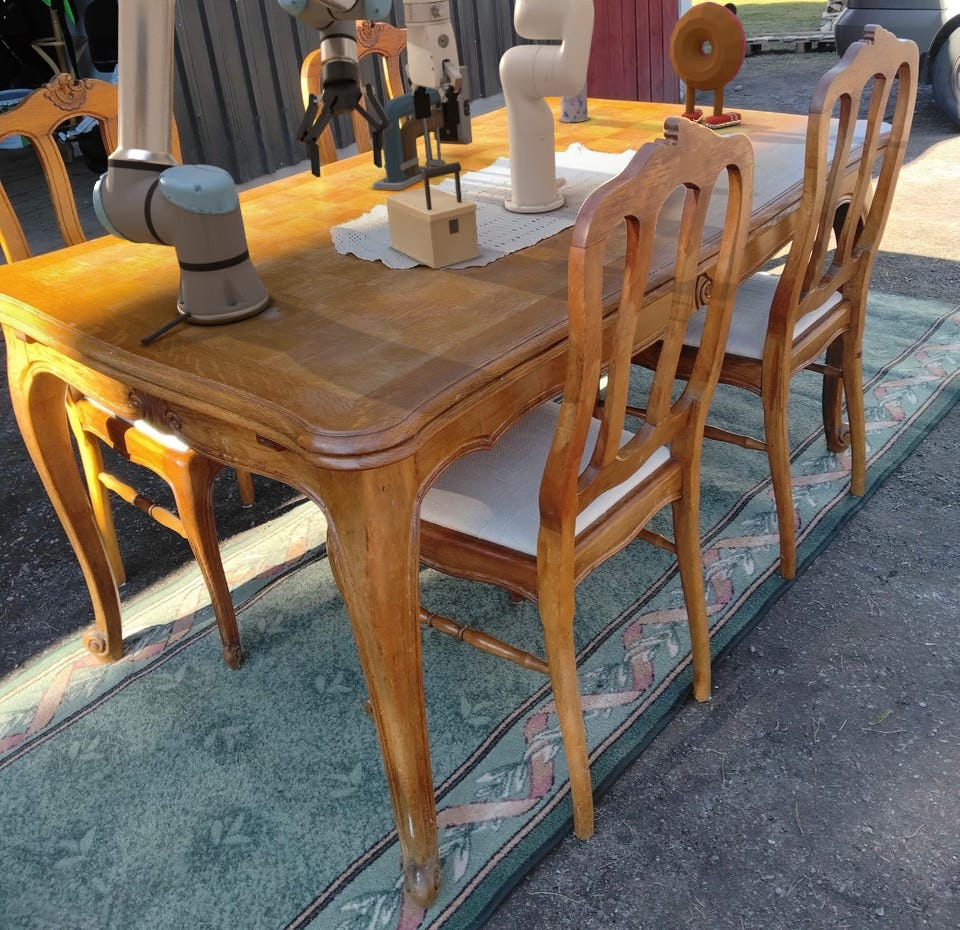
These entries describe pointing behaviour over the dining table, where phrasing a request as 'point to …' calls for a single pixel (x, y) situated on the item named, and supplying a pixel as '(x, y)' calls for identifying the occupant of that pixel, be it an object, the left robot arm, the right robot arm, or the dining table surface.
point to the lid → (434, 197)
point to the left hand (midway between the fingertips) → (346, 170)
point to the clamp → (403, 141)
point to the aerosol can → (575, 107)
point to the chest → (434, 237)
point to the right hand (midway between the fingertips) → (437, 121)
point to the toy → (708, 56)
